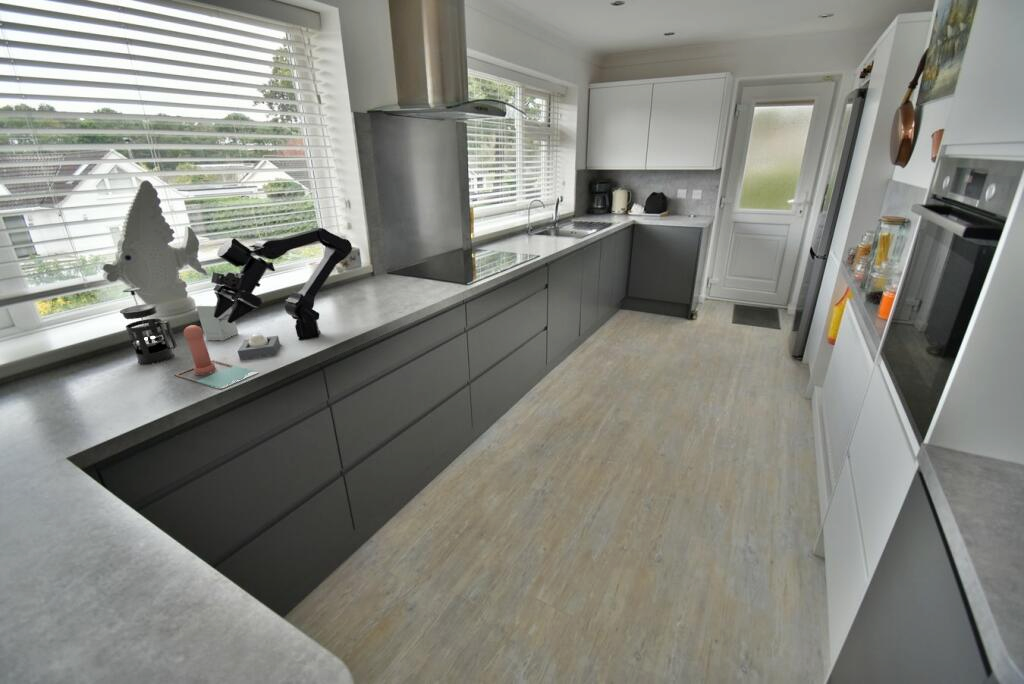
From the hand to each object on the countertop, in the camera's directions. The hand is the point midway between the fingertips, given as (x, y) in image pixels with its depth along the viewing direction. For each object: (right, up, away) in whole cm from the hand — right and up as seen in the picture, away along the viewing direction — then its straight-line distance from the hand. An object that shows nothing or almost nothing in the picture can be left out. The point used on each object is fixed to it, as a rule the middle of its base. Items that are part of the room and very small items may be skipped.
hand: (222, 320), depth 136 cm
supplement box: (-17, -5, +26) cm, 32 cm away
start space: (-4, -15, -1) cm, 16 cm away
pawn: (-4, -15, -1) cm, 16 cm away
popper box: (+5, -10, +12) cm, 16 cm away
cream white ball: (+5, -9, +11) cm, 15 cm away
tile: (+5, -17, -6) cm, 19 cm away
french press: (-27, -12, +10) cm, 31 cm away
